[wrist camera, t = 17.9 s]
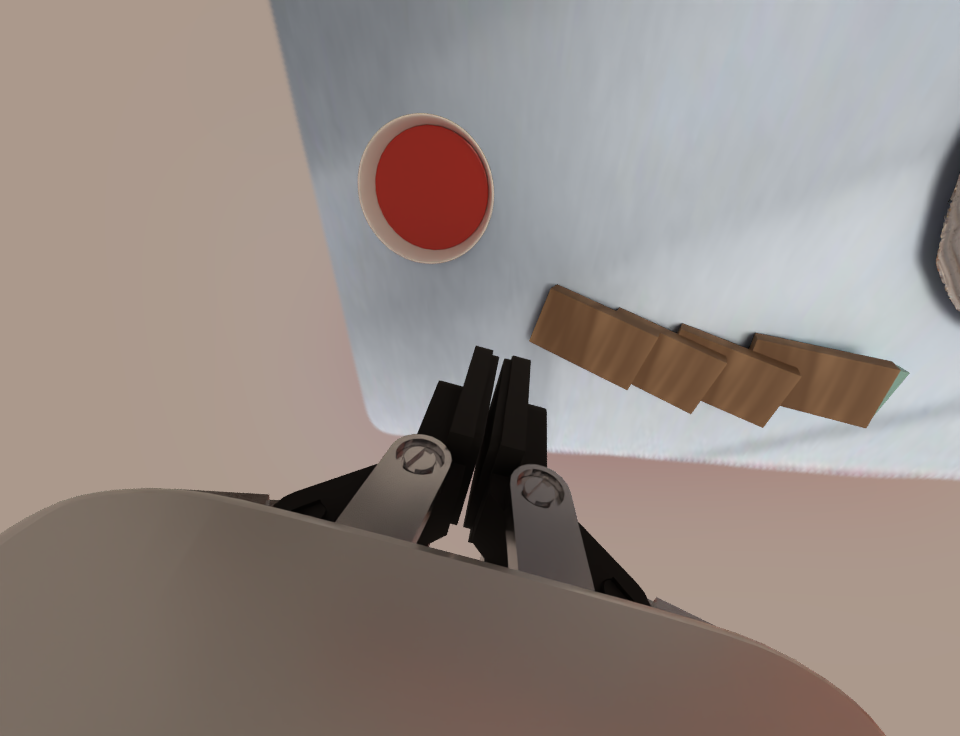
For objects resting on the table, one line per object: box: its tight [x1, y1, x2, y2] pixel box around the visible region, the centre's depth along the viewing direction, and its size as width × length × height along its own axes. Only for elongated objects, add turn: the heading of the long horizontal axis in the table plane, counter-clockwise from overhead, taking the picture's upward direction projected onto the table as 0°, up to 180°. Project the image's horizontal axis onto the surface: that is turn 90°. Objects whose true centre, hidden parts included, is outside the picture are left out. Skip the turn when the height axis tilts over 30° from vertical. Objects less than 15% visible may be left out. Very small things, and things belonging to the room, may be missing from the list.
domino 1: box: [529, 284, 660, 390], centre depth 34 cm, size 2×5×9 cm
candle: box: [358, 113, 494, 264], centre depth 30 cm, size 9×9×6 cm
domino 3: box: [677, 323, 802, 428], centre depth 34 cm, size 2×5×9 cm
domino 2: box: [617, 307, 727, 414], centre depth 35 cm, size 2×5×9 cm
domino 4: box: [749, 333, 901, 428], centre depth 33 cm, size 2×5×9 cm
